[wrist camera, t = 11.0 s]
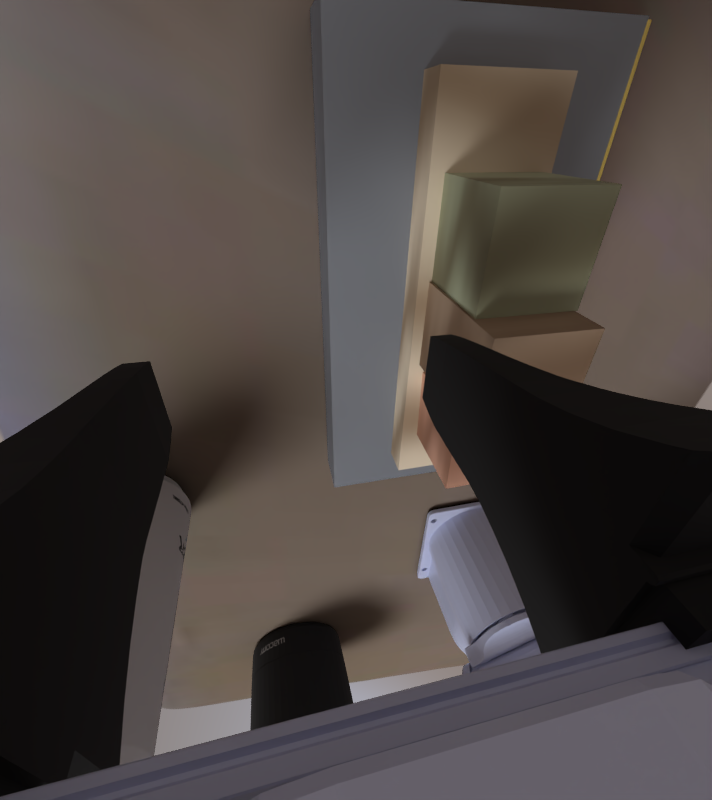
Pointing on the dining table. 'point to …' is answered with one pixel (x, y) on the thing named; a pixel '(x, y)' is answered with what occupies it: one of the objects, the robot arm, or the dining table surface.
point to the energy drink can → (154, 622)
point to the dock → (396, 163)
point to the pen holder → (297, 674)
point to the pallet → (436, 155)
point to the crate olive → (519, 240)
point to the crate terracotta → (438, 448)
